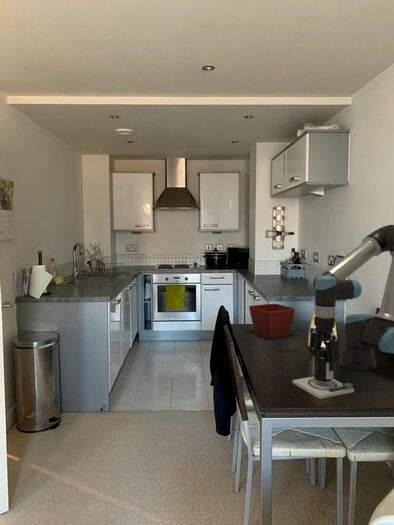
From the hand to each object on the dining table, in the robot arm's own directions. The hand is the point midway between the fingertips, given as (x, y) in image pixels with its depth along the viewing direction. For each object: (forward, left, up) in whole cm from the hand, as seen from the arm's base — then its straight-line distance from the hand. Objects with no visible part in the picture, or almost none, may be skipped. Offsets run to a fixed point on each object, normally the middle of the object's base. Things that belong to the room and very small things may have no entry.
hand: (322, 375), depth 152 cm
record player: (0, 0, -5) cm, 5 cm away
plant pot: (-24, -71, -5) cm, 75 cm away
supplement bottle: (0, 0, -2) cm, 2 cm away
